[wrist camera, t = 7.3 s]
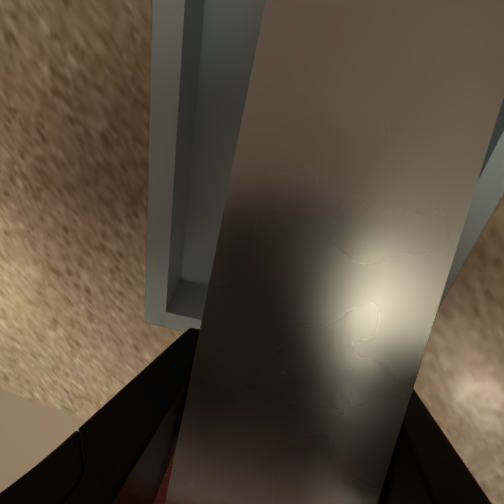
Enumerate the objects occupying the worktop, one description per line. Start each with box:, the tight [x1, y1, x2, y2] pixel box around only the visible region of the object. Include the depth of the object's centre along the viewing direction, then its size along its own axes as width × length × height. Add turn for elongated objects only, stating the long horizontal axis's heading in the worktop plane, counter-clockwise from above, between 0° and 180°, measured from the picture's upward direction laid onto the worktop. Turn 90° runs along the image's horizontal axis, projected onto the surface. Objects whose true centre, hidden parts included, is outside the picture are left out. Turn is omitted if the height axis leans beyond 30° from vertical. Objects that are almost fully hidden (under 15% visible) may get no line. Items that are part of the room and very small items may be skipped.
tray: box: [145, 0, 504, 332], centre depth 12 cm, size 20×10×3 cm, turn 171°
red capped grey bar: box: [153, 0, 504, 504], centre depth 9 cm, size 16×5×5 cm, turn 170°
